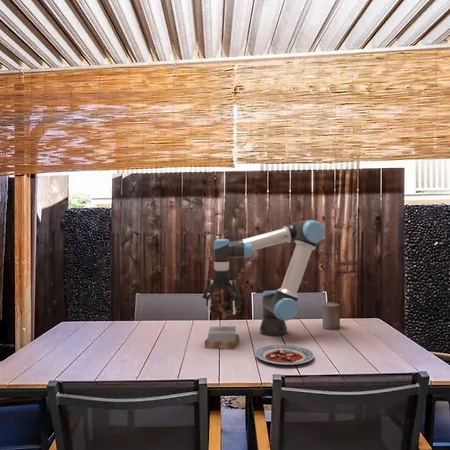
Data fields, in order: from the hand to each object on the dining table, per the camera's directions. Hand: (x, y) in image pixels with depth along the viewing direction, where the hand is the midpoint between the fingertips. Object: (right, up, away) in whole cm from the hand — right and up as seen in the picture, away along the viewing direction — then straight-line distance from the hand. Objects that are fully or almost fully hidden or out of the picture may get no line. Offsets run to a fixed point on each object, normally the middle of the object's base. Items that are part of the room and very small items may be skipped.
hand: (221, 313), depth 193 cm
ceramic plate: (+28, -16, -21) cm, 38 cm away
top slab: (0, -12, 0) cm, 12 cm away
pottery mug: (0, -2, +1) cm, 2 cm away
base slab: (0, -16, 0) cm, 16 cm away
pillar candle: (+62, -15, +28) cm, 70 cm away
